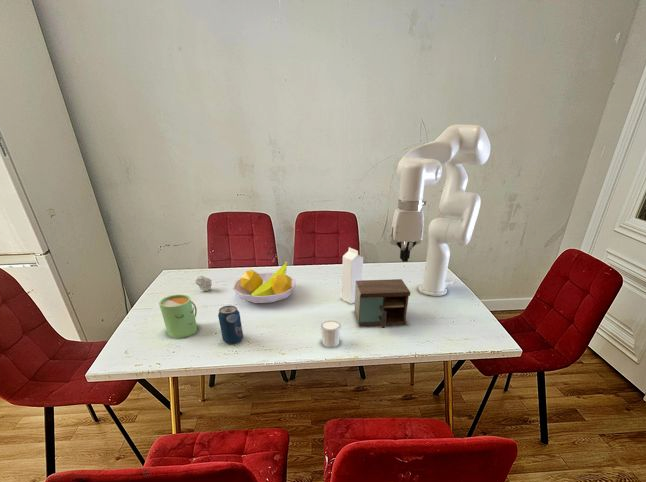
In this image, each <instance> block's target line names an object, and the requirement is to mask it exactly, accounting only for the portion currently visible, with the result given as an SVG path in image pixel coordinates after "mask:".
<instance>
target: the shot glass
mask: <svg viewBox="0 0 646 482" xmlns="http://www.w3.org/2000/svg"><path fill="white" fill-rule="evenodd" d="M341 329H342V325H341V322H339V321H337V320H325V321H323V322H321V323H320V331H321V332H320V333H321V341H322V345H323V346H325V347H327V348H335V347H337V346H338V345H339V343H340V337H341V336H340V335H341Z"/></svg>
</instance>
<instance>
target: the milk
mask: <svg viewBox="0 0 646 482" xmlns="http://www.w3.org/2000/svg"><path fill="white" fill-rule="evenodd" d="M341 271H342V277H341V279H342V280H341V289H342V290H341V299H342V301H345V302H346V303H348V304H350V305H351V304H355V286H356V281H361V280H363V273H364V256H361V255H360V254H359V250H357V249H355V248H352V247H350V246H349V247H348V250H347V251H346V252H345V253H344V254H343V255H342V270H341Z"/></svg>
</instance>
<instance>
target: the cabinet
mask: <svg viewBox="0 0 646 482" xmlns="http://www.w3.org/2000/svg"><path fill="white" fill-rule="evenodd" d="M410 296H411V290H410V289H409V288H408V286H407V285H406V283H405V282H404V281H403V279H402V278H397V279H395V278H394V279H364V280H363V279H362V280H361V281H356V286H355V303H354V315H355V318H356V321H357V324H358V327H359V328H367V327H381V322H374V323H360V304H361V298H367V297H385V304H384V311H386V323H385V327H388V326H389V327H391V326H392V327H393V326H407V322H408V321H407V312H408V305H409V297H410Z"/></svg>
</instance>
